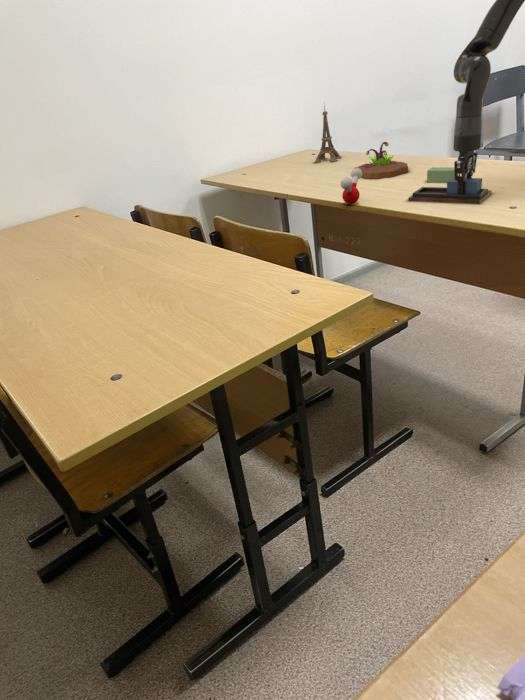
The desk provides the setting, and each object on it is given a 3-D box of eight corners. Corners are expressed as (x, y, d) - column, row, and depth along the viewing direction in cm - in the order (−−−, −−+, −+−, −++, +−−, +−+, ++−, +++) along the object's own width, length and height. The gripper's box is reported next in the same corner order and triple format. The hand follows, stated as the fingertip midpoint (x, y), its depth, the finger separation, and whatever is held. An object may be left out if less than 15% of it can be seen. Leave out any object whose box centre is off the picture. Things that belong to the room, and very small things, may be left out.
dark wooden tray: (491, 193, 164) (492, 187, 163) (479, 204, 156) (479, 197, 155) (422, 191, 177) (422, 185, 176) (408, 201, 169) (408, 194, 168)
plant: (417, 171, 203) (418, 140, 198) (372, 181, 199) (371, 149, 193) (390, 164, 220) (390, 136, 215) (348, 173, 216) (346, 144, 210)
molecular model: (357, 210, 166) (356, 178, 161) (338, 211, 168) (337, 179, 163) (363, 196, 181) (362, 166, 176) (346, 197, 182) (345, 167, 178)
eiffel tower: (341, 157, 249) (338, 99, 236) (336, 162, 240) (332, 101, 228) (320, 158, 253) (316, 101, 240) (313, 163, 244) (309, 104, 232)
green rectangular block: (457, 179, 185) (457, 167, 183) (452, 182, 182) (452, 170, 180) (432, 178, 190) (432, 167, 189) (426, 182, 187) (427, 170, 185)
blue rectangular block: (481, 191, 162) (482, 178, 161) (476, 195, 159) (477, 182, 157) (452, 190, 168) (452, 177, 166) (446, 194, 164) (447, 181, 162)
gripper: (473, 136, 148) (468, 197, 156) (488, 127, 158) (483, 186, 166) (446, 137, 152) (443, 197, 160) (462, 128, 162) (459, 185, 170)
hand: (464, 191), depth 163 cm, fingers closed on blue rectangular block, 5 cm apart
